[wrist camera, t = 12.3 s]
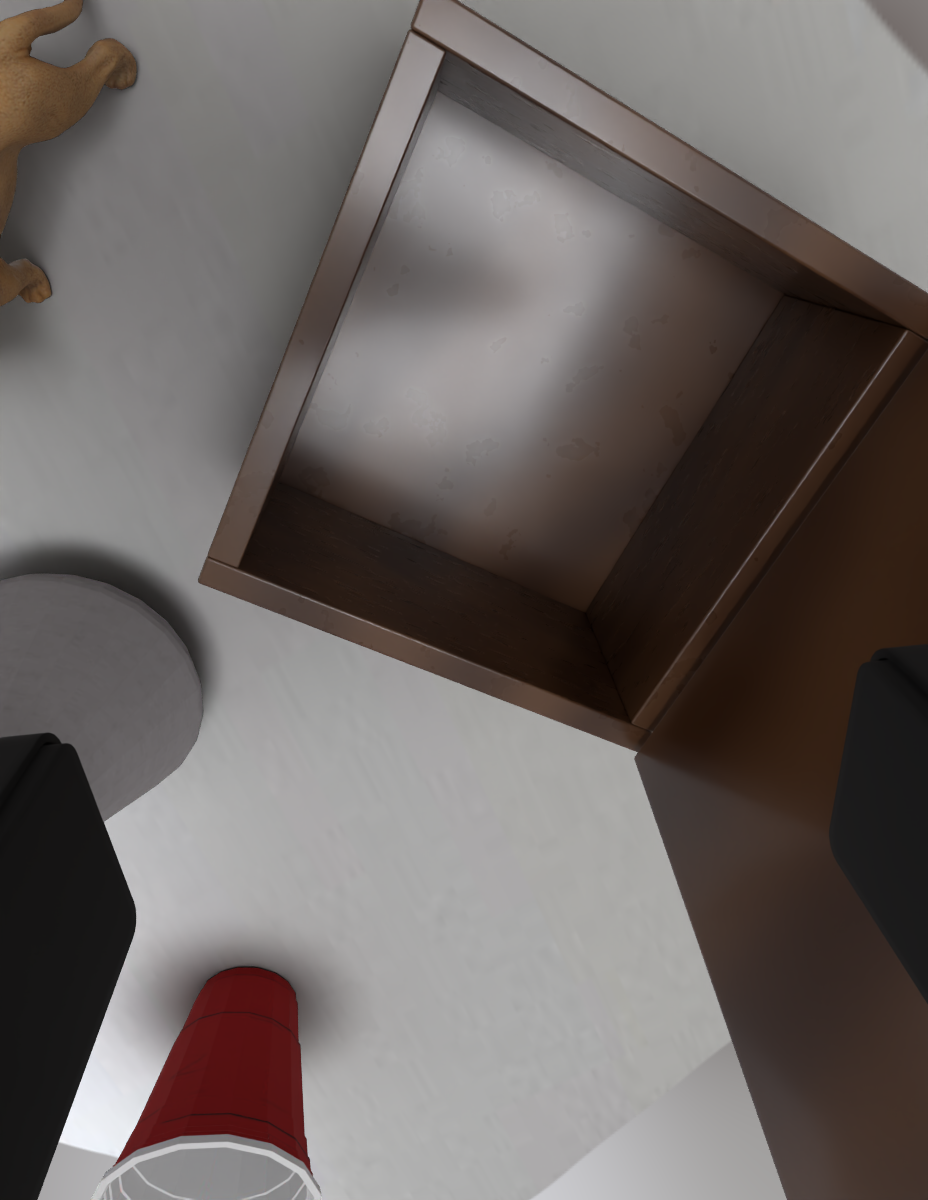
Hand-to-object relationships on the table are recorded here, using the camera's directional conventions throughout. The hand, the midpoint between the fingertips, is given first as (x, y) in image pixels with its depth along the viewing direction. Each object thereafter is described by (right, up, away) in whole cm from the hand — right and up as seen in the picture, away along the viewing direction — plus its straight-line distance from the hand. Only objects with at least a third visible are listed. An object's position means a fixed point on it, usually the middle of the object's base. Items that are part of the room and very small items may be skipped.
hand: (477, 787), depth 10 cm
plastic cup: (-13, -21, +38) cm, 46 cm away
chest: (+2, +11, +22) cm, 25 cm away
